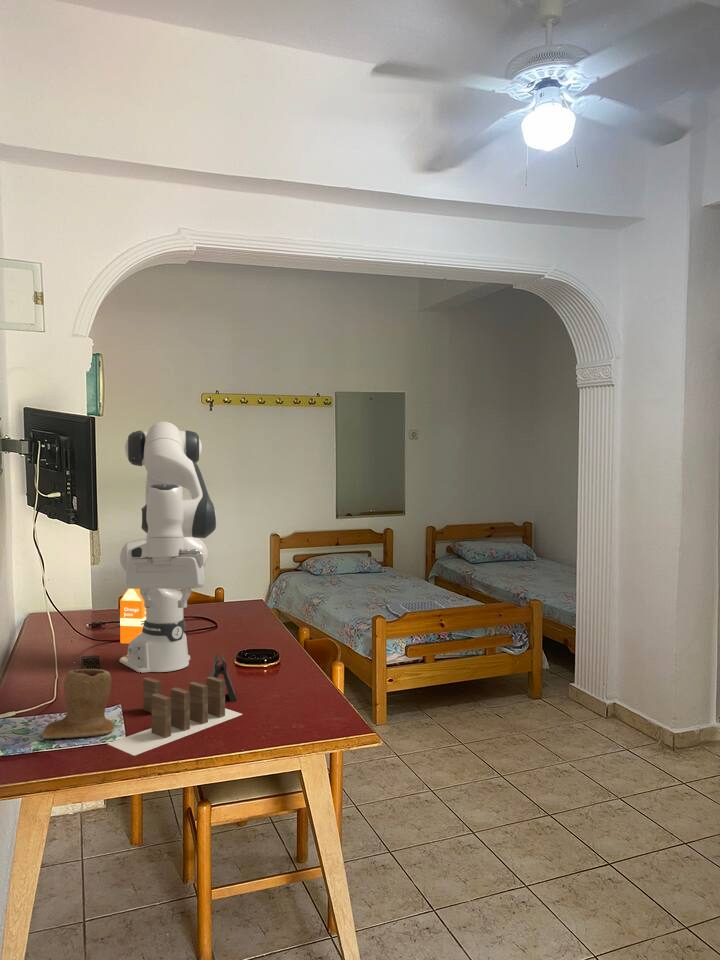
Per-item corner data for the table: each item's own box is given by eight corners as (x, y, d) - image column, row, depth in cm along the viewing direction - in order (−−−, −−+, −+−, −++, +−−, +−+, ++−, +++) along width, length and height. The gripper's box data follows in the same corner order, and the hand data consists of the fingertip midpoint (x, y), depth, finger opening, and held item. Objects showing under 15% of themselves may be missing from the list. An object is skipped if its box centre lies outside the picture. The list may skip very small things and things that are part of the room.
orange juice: (151, 637, 264) (151, 580, 263) (142, 644, 256) (142, 585, 254) (130, 636, 265) (129, 579, 264) (119, 643, 256) (119, 584, 255)
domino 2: (165, 738, 174) (165, 699, 173) (151, 732, 177) (151, 694, 176) (170, 736, 175) (170, 697, 174) (157, 730, 178) (157, 693, 178)
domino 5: (220, 717, 187) (220, 681, 186) (206, 713, 190) (206, 677, 189) (225, 716, 188) (225, 680, 188) (211, 711, 191) (211, 676, 191)
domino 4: (202, 724, 182) (202, 687, 182) (189, 719, 185) (189, 683, 185) (207, 722, 184) (207, 685, 183) (194, 717, 187) (194, 681, 186)
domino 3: (184, 731, 178) (184, 693, 178) (170, 726, 181) (170, 688, 181) (189, 729, 179) (189, 691, 179) (176, 724, 182) (176, 687, 182)
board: (106, 748, 170) (106, 743, 170) (215, 708, 196) (215, 705, 196) (134, 760, 164) (134, 755, 164) (243, 718, 189) (243, 714, 189)
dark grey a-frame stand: (236, 697, 205) (236, 653, 204) (237, 705, 199) (238, 659, 198) (201, 699, 202) (202, 655, 202) (202, 707, 197) (202, 661, 196)
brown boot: (116, 722, 186) (116, 661, 185) (112, 741, 174) (112, 676, 174) (50, 726, 182) (49, 665, 182) (41, 746, 171) (41, 680, 170)
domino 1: (155, 718, 189) (155, 682, 188) (143, 713, 192) (143, 678, 191) (161, 716, 190) (161, 681, 189) (148, 711, 193) (148, 677, 192)
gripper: (209, 548, 184) (210, 606, 183) (138, 551, 191) (138, 606, 190) (195, 549, 178) (196, 608, 177) (122, 551, 185) (122, 608, 184)
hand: (165, 607), depth 183 cm, fingers open, 8 cm apart
